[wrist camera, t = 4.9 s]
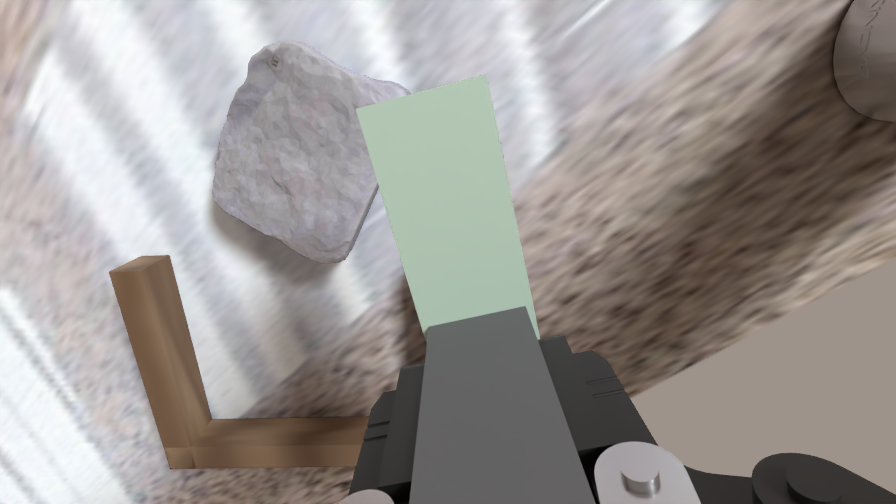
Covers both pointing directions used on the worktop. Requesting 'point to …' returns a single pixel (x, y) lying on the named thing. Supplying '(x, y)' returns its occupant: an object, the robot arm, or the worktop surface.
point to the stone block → (300, 151)
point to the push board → (470, 306)
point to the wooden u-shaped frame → (183, 397)
